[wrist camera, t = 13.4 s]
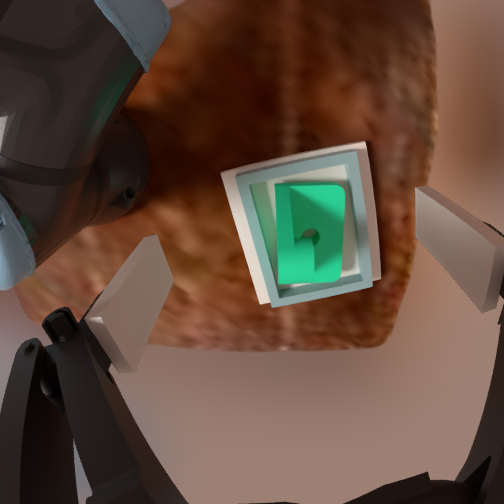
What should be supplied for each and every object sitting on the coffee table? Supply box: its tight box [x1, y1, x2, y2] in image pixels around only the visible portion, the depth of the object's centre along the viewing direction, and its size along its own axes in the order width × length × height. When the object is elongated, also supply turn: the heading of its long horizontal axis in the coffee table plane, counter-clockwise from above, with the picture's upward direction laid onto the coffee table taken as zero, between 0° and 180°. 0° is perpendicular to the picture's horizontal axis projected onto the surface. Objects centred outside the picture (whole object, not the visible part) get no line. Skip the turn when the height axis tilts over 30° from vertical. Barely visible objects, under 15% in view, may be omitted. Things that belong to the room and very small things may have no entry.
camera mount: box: [274, 182, 345, 284], centre depth 32 cm, size 12×8×10 cm, turn 4°
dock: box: [221, 141, 381, 308], centre depth 36 cm, size 17×18×3 cm
